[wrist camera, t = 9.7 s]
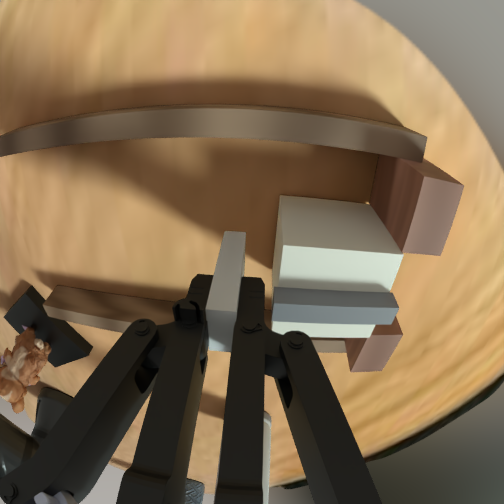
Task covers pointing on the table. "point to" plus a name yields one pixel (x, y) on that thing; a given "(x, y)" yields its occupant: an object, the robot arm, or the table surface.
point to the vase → (194, 492)
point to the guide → (278, 129)
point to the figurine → (35, 347)
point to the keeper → (332, 269)
